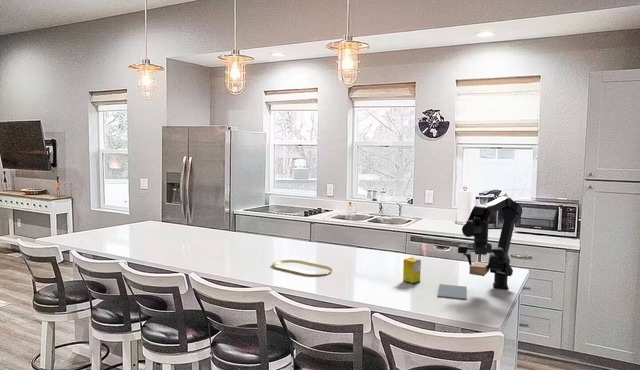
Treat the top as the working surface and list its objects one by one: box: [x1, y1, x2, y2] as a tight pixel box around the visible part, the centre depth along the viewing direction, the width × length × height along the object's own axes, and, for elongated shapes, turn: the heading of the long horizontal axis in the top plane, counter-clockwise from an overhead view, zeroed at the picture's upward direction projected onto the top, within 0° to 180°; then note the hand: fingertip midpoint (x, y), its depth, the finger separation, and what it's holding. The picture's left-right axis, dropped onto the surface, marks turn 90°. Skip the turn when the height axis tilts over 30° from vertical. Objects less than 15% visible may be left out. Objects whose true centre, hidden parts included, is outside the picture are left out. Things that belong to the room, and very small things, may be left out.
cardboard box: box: [468, 261, 490, 277], centre depth 206 cm, size 10×6×4 cm, turn 148°
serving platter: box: [272, 259, 333, 277], centre depth 246 cm, size 19×35×2 cm, turn 52°
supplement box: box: [402, 257, 422, 285], centre depth 224 cm, size 6×6×11 cm
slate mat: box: [437, 283, 468, 301], centre depth 209 cm, size 18×12×1 cm, turn 163°
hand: (479, 269), depth 206 cm, fingers closed on cardboard box, 7 cm apart
